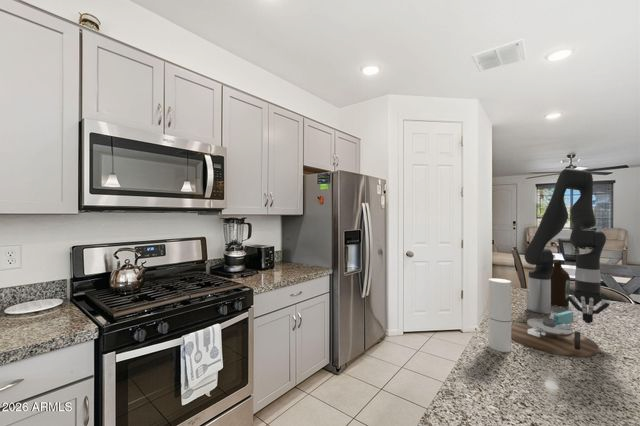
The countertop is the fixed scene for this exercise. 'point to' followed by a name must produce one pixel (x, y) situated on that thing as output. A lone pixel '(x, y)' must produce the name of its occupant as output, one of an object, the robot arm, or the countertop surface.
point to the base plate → (555, 342)
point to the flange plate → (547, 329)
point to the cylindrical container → (500, 314)
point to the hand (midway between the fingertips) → (587, 322)
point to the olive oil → (559, 285)
